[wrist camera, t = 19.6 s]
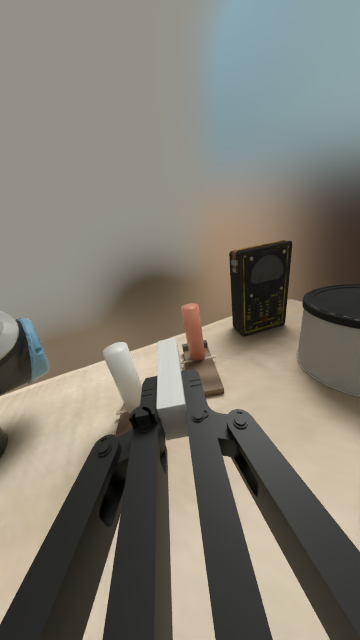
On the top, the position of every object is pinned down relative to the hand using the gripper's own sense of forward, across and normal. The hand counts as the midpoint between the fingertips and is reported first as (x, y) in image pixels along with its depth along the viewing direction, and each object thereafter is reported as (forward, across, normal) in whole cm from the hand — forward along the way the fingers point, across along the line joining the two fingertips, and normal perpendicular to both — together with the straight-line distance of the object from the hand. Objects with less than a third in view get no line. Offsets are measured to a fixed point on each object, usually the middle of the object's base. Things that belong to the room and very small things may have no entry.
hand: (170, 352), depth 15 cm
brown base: (+21, +5, -22) cm, 31 cm away
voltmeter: (+36, +27, -22) cm, 50 cm away
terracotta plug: (+24, +5, -20) cm, 32 cm away
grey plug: (+12, -10, -20) cm, 25 cm away
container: (+14, +36, -22) cm, 44 cm away
